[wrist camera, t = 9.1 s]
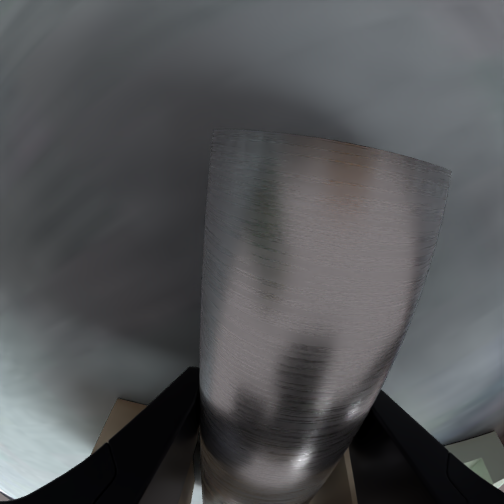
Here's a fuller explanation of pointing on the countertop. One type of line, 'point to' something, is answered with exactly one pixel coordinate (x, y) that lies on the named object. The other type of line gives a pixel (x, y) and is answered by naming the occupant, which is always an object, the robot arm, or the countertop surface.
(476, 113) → the countertop surface
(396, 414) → the robot arm
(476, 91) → the countertop surface
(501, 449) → the v block
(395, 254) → the axle
